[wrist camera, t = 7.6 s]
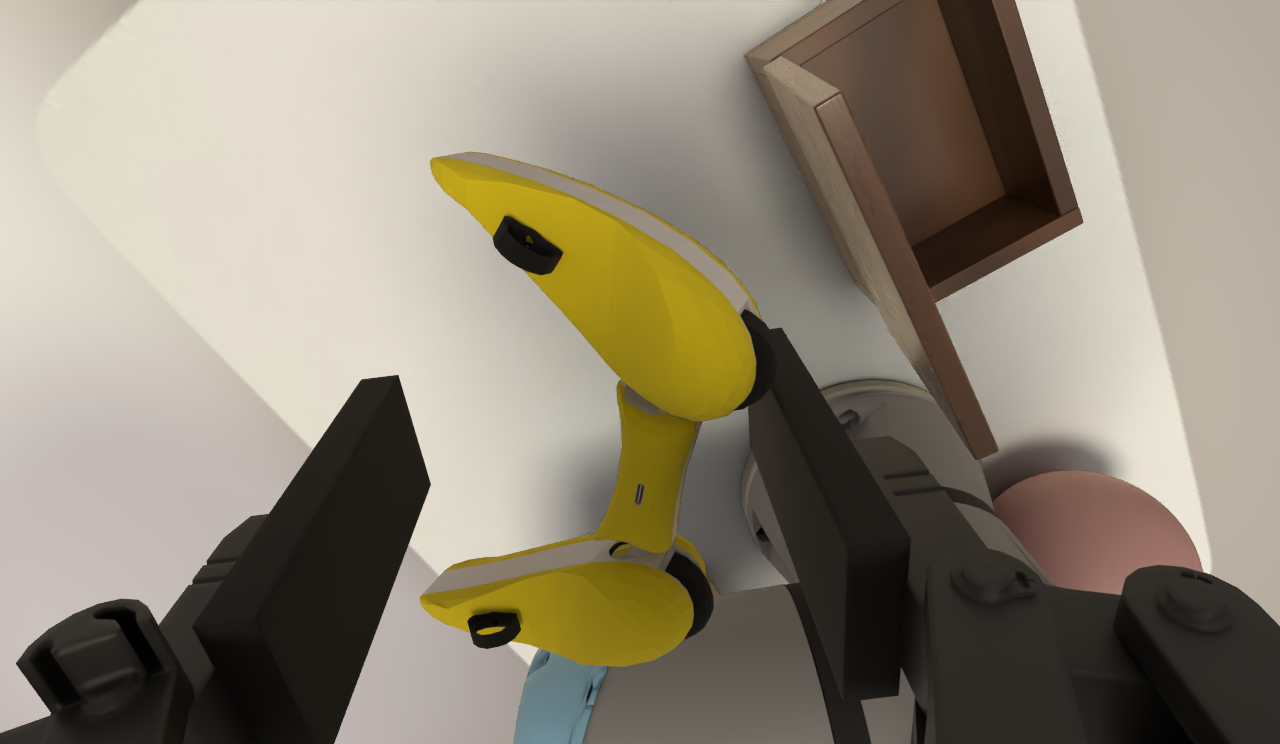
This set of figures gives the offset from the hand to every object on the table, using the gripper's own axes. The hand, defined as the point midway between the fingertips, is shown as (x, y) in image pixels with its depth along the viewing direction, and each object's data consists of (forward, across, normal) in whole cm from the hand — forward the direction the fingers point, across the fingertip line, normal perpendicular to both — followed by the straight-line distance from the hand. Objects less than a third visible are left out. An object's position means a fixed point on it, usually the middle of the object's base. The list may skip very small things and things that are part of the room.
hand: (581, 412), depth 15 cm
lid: (+13, -11, +1) cm, 17 cm away
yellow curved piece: (0, 0, 0) cm, 0 cm away
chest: (+25, -16, -1) cm, 29 cm away
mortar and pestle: (+17, -24, +21) cm, 36 cm away
